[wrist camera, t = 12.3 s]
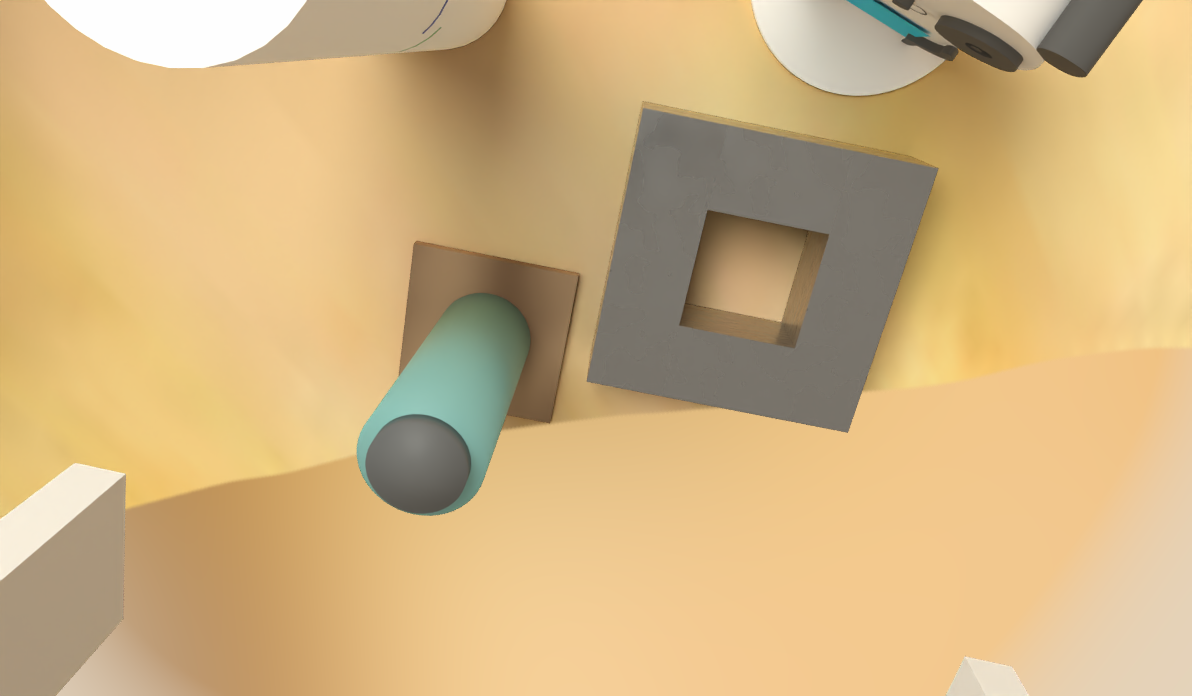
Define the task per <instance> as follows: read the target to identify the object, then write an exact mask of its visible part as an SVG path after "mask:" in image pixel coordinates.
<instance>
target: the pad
mask: <svg viewBox="0 0 1192 696" xmlns="http://www.w3.org/2000/svg"><path fill="white" fill-rule="evenodd" d="M578 277H579V273H575V272H570V271H565V270H560V269H555V268H550V267H545V266H540V265H535V264H530V263H525V262H520V261H515V260H510V259H505V258H500V257H494V256H489V255H484V254H479V253H474V252H469V251H464V250H459V249H454V248H449V247H444V246H439V245H434V244H429V243H424V242H419V241H416V242H415V243H414V247H413V256H412V264H411V273H410V282H409V291H408V299H407V308H406V317H405V325H404V334H403V343H402V352H401V360H400V369H399V376H400V374H401V373H402V371H403V370H404V369H405V367H406V366H407V364H408V363H409V361H410V360H411V359H412V357H413V356H414V354H415V353H416V352H417V350H418V349H419V347H420V346H421V344H422V343H423V342H424V340H425V339H426V337H427V336H428V335H429V333H430V332H431V330H432V329H433V327H434V326H435V325H436V323H437V322H438V320H439V319H440V318H441V316H442V315H443V313H444V312H445V311H446V309H447V308H448V307H449V306H450V305H451V304H452V303H453V302H454V301H456V300H457V299H459V298H461V297H463V296H466V295H469V294H474V293H488V294H493V295H497V296H499V297H502V298H504V299H506V300H508V301H509V302H511V303H512V304H513V305H514V306H515V307H517V308H518V310H519V311H520V312H521V313H522V315H523V316H524V318H525V320H526V322H527V324H528V327H529V330H530V339H531V342H530V349H529V352H528V355H527V358H526V361H525V364H524V367H523V369H522V372H521V375H520V378H519V381H518V384H517V386H516V389H515V392H514V395H513V398H512V401H511V403H510V406H509V409H508V412H507V415H510V416H516V417H521V418H526V419H531V420H536V421H541V422H546V423H550V421H551V417H552V411H553V406H554V401H555V396H556V391H557V385H558V380H559V375H560V370H561V365H562V360H563V354H564V349H565V344H566V339H567V334H568V328H569V323H570V318H571V313H572V308H573V302H574V297H575V292H576V287H577V282H578Z"/></svg>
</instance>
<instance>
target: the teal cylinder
mask: <svg viewBox="0 0 1192 696" xmlns="http://www.w3.org/2000/svg"><path fill="white" fill-rule="evenodd" d="M530 342H531V339H530V330H529V327H528V324H527V322H526V320H525V318H524V316H523V315H522V313H521V312H520V311H519V310H518V308H517V307H515V306H514V305H513V304H512V303H511V302H509V301H508V300H506V299H504V298H502V297H499V296H497V295H493V294H488V293H474V294H469V295H466V296H463V297H461V298H459V299H457V300H456V301H454V302H453V303H452V304H451V305H450V306H449V307H448V308H447V309H446V311H445V312H444V313H443V315H442V316H441V318H440V319H439V320H438V322H437V323H436V325H435V326H434V327H433V329H432V330H431V332H430V333H429V335H428V336H427V337H426V339H425V340H424V342H423V343H422V344H421V346H420V347H419V349H418V350H417V352H416V353H415V354H414V356H413V357H412V359H411V360H410V361H409V363H408V364H407V366H406V367H405V369H404V370H403V371H402V373H401V374H400V376H399V377H398V378H397V380H396V381H395V383H394V384H393V386H392V387H391V388H390V390H389V391H388V393H387V394H386V395H385V397H384V398H383V400H382V401H381V403H380V404H379V405H378V407H377V408H376V410H375V411H374V412H373V414H372V415H371V417H370V418H369V420H368V421H367V422H366V424H365V425H364V427H363V429H362V431H361V433H360V436H359V439H358V444H357V459H358V464H359V468H360V471H361V474H362V476H363V478H364V480H365V481H366V483H367V484H368V486H369V487H370V488H371V489H372V491H373V492H374V493H375V494H376V495H377V496H378V497H380V498H381V499H382V500H383V501H385V502H386V503H388V504H389V505H391V506H393V507H395V508H397V509H399V510H402V511H404V512H407V513H411V514H416V515H429V516H432V515H440V514H445V513H448V512H451V511H454V510H456V509H458V508H460V507H462V506H463V505H465V504H466V503H467V502H469V501H470V500H471V499H472V498H473V497H474V496H475V494H476V493H477V492H478V490H479V488H480V487H481V484H482V482H483V480H484V477H485V474H486V471H487V468H488V466H489V463H490V460H491V457H492V454H493V452H494V449H495V446H496V443H497V440H498V437H499V435H500V432H501V429H502V426H503V423H504V420H505V418H506V415H507V412H508V409H509V406H510V403H511V401H512V398H513V395H514V392H515V389H516V386H517V384H518V381H519V378H520V375H521V372H522V369H523V367H524V364H525V361H526V358H527V355H528V352H529V349H530Z"/></svg>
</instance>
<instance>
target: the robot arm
mask: <svg viewBox="0 0 1192 696" xmlns="http://www.w3.org/2000/svg"><path fill="white" fill-rule="evenodd" d="M125 486H126V474H124V473H119V472H115V471H110V470H106V469H101V468H96V467H92V466H87V465H83V464H78V463H74V464H73V465H71V466H70V467H69V468H67V469H66V470H65V471H63V472H62V473H61V474H59V475H58V476H57V477H55V478H54V479H53V480H51V481H50V482H49V483H47V484H46V485H45V486H44V487H42V488H41V489H40V490H38V491H37V492H36V493H34V494H33V495H32V496H30V497H29V498H28V499H26V500H25V501H24V502H22V503H21V504H20V505H18V506H17V507H16V508H14V509H13V510H12V511H11V512H9V513H8V514H7V515H5V516H4V517H3V518H1V519H0V696H56V695H57V694H58V693H59V691H60V690H61V689H62V688H63V687H64V686H65V685H66V683H67V682H68V681H69V680H70V679H71V678H72V677H73V676H74V674H75V673H76V672H77V671H78V670H79V669H80V668H81V666H82V665H83V664H84V663H85V662H86V661H87V660H88V658H89V657H90V656H91V655H92V654H93V653H94V652H95V651H96V649H97V648H98V647H99V646H100V645H101V644H102V643H103V642H104V640H105V639H106V638H107V637H108V636H109V634H111V632H112V631H113V630H114V629H115V628H116V627H117V626H118V625H119V623H120V622H121V621H122V620H123V610H124V609H123V608H124V548H125V547H124V546H125ZM946 696H1029V694H1028V693H1027V691H1026V689H1025V688H1024V686H1023V685H1022V683H1021V681H1020V679H1019V678H1018V676H1017V674H1016V673H1015V671H1014V669H1013V667H1011V666H1007V665H1002V664H997V663H993V662H988V661H984V660H979V659H975V658H970V657H964V659H963V661H962V663H961V665H960V667H959V669H958V671H957V673H956V676H955V678H954V679H953V682H952V684H951V686H950V688H949V690H948V692H947V694H946Z"/></svg>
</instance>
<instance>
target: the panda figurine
mask: <svg viewBox="0 0 1192 696" xmlns="http://www.w3.org/2000/svg"><path fill="white" fill-rule="evenodd" d="M1142 1H1143V0H751V5H752V9H753V13H754V17H755V20H756V23H757V26H758V29H759V31H760V33H761V35H762V37H763V39H764V41H765V43H766V44H767V46H768V47H769V49H770V51H771V52H772V53H773V55H774V56H775V57H776V58H777V60H778V61H779V62H780V63H781V64H782V65H783V66H784V67H785V68H786V69H787V70H789V71H790V72H791V73H792V74H794V75H795V76H796V77H798V78H799V79H801V80H802V81H804V82H806V83H808V84H810V85H812V86H814V87H817V88H819V89H822V90H825V91H828V92H832V93H837V94H842V95H853V96H863V95H874V94H880V93H885V92H889V91H892V90H895V89H898V88H901V87H904V86H906V85H908V84H910V83H913V82H915V81H916V80H918V79H920V78H922V77H923V76H925V75H927V74H928V73H930V72H931V71H932V70H934V69H935V68H937V67H938V66H939V65H940V64H941V63H943V62H944V61H945V60H948V61H953V59H954V58H955V57H956V55H957V54H958V49H957V48H959V49H960V50H962V51H963V52H965V53H967V54H969V55H970V56H972V57H974V58H976V59H978V60H980V61H982V62H984V63H986V64H988V65H991V66H993V67H995V68H998V69H1000V70H1004V71H1008V72H1015V71H1016V70H1017V69H1018V70H1032V69H1036V68H1038V67H1039V66H1040V65H1041V64H1042V63H1043V62H1044V60H1045V61H1047V62H1048V63H1049V64H1051V65H1052V66H1054V67H1056V68H1057V69H1059V70H1061V71H1063V72H1065V73H1067V74H1069V75H1072V76H1075V77H1086V76H1087V75H1088V73H1089V72H1090V71H1091V69H1092V68H1093V67H1094V65H1095V64H1096V62H1097V61H1098V60H1099V58H1100V57H1101V56H1102V54H1103V53H1104V52H1105V50H1106V49H1107V48H1108V46H1109V45H1110V44H1111V42H1112V41H1113V40H1114V38H1115V37H1116V36H1117V34H1118V33H1119V32H1120V30H1121V29H1122V27H1123V26H1124V25H1125V23H1126V22H1127V21H1128V19H1129V18H1130V17H1131V15H1132V14H1133V13H1134V11H1135V10H1136V9H1137V7H1138V6H1139V5H1140V3H1141V2H1142Z"/></svg>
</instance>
